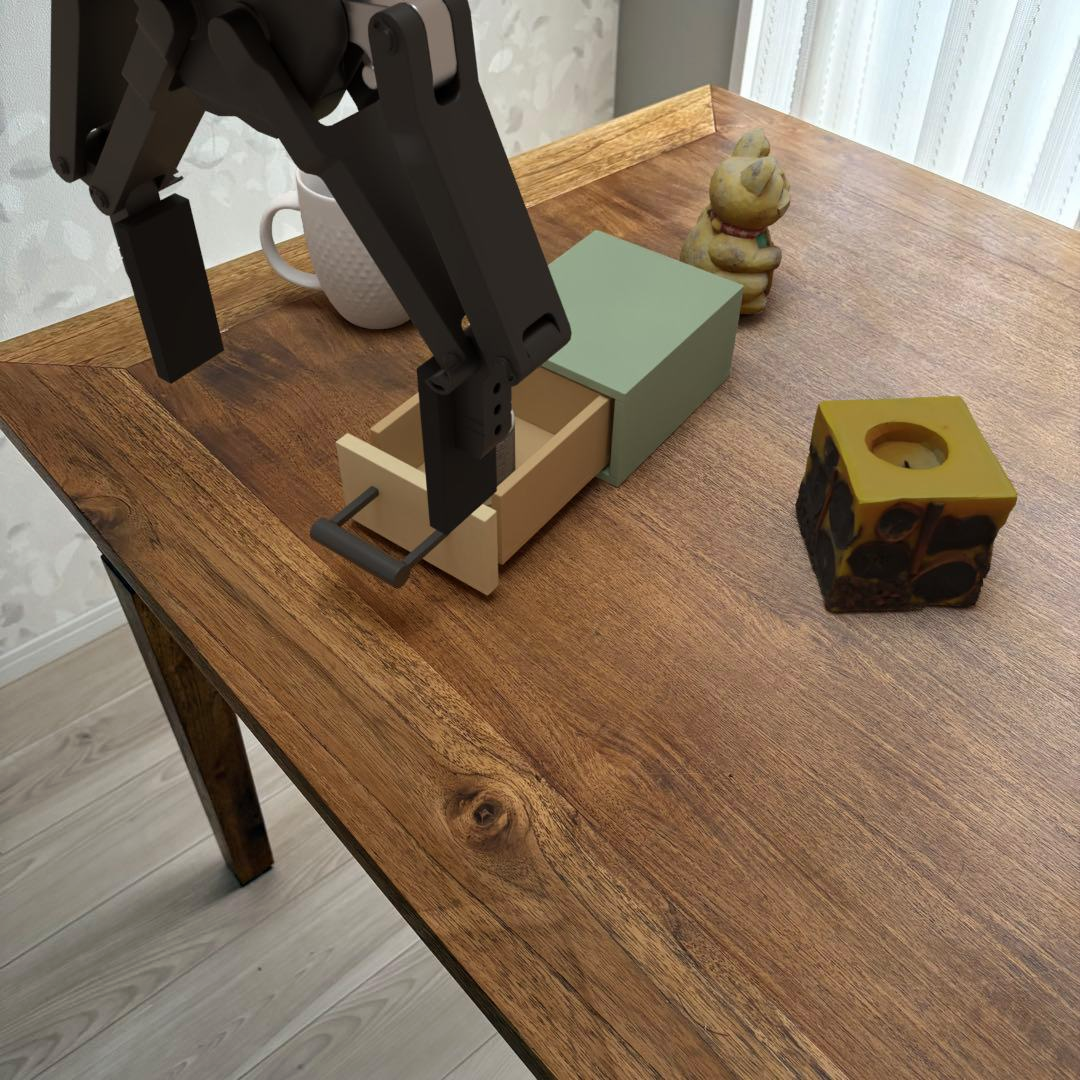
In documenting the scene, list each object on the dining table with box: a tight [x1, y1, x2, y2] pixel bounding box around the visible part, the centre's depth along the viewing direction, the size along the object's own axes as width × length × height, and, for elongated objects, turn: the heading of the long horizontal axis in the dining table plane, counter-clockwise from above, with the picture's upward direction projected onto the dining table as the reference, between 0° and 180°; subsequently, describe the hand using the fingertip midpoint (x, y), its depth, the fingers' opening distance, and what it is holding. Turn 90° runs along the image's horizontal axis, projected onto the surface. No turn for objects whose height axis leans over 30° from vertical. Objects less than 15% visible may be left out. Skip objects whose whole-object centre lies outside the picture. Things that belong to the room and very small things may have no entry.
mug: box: [258, 166, 411, 330], centre depth 92 cm, size 15×11×13 cm
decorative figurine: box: [679, 127, 792, 315], centre depth 93 cm, size 10×8×15 cm
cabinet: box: [467, 229, 744, 488], centre depth 85 cm, size 17×14×9 cm
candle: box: [794, 395, 1019, 612], centre depth 73 cm, size 10×10×10 cm
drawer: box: [309, 366, 615, 596], centre depth 75 cm, size 21×12×7 cm, turn 144°
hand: (318, 432), depth 41 cm, fingers open, 13 cm apart
